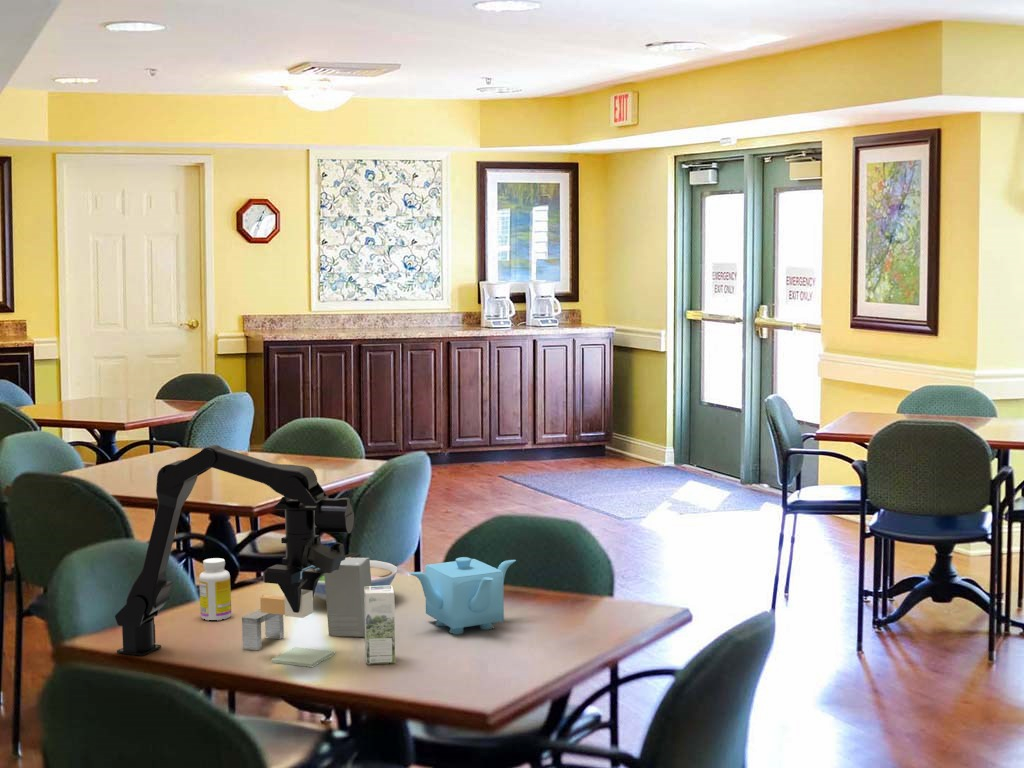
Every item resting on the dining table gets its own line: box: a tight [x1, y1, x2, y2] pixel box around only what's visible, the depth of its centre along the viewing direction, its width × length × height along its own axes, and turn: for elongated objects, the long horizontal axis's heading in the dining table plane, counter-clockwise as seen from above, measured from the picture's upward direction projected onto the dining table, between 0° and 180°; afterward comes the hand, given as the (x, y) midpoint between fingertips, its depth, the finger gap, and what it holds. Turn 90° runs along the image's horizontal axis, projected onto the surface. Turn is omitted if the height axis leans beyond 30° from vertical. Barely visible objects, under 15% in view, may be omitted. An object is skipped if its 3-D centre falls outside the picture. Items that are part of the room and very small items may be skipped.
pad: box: [271, 646, 335, 668], centre depth 273 cm, size 9×9×1 cm
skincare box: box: [324, 557, 372, 638], centre depth 289 cm, size 8×7×16 cm
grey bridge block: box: [241, 608, 285, 651], centre depth 283 cm, size 10×4×6 cm, turn 158°
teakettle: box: [409, 556, 517, 635], centre depth 294 cm, size 19×19×15 cm
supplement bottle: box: [198, 557, 232, 621], centre depth 303 cm, size 7×7×13 cm
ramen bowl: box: [314, 552, 398, 601], centre depth 316 cm, size 25×23×8 cm
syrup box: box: [364, 584, 396, 665], centre depth 270 cm, size 6×6×14 cm
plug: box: [259, 589, 314, 619], centre depth 273 cm, size 4×10×4 cm, turn 68°
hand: (302, 609), depth 272 cm, fingers closed on plug, 4 cm apart
